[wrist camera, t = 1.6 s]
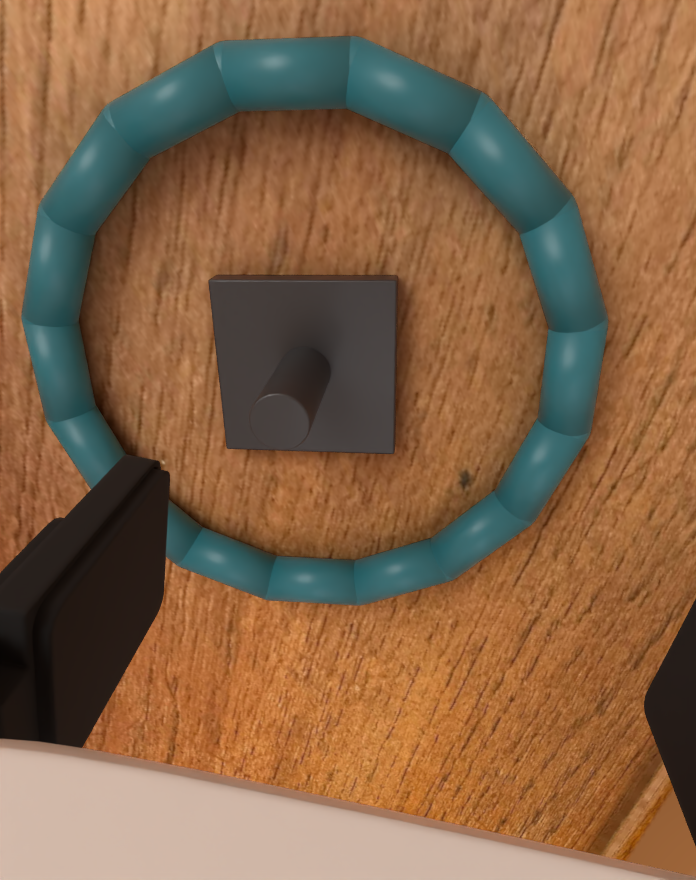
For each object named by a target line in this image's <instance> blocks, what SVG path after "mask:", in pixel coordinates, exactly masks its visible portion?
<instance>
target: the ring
mask: <svg viewBox="0 0 696 880" xmlns="http://www.w3.org/2000/svg"><path fill="white" fill-rule="evenodd" d="M320 109H348V110H351V111H353V112H355V113H358V114H360V115H362V116H364V117H367V118H369V119H371V120H373V121H376V122H378V123H380V124H382V125H385V126H387V127H389V128H391V129H394V130H396V131H398V132H401V133H403V134H405V135H407V136H410V137H412V138H414V139H416V140H419V141H421V142H423V143H425V144H428V145H430V146H432V147H435V148H437V149H439V150H441V151H444V152H446V153H448V154H449V155H450V156H451V158H452V159H453V160H454V161H455V162H456V163H457V164H458V165H459V166H460V168H461V169H462V170H463V171H464V172H465V173H466V174H467V175H468V177H469V178H470V179H471V180H472V181H473V182H474V183H475V184H476V186H477V187H478V188H479V189H480V190H481V191H482V192H483V193H484V195H485V196H486V197H487V198H488V199H489V200H490V201H491V202H492V204H493V205H494V206H495V207H496V208H497V209H498V210H499V211H500V213H501V214H502V215H503V216H504V217H505V218H506V219H507V220H508V222H509V223H510V224H511V225H512V226H513V227H514V228H515V229H516V231H517V232H518V233H519V235H520V238H521V241H522V245H523V248H524V251H525V254H526V257H527V260H528V264H529V267H530V270H531V273H532V276H533V280H534V283H535V286H536V289H537V292H538V296H539V299H540V302H541V305H542V308H543V312H544V315H545V318H546V321H547V324H548V337H547V345H546V353H545V362H544V370H543V379H542V387H541V395H540V404H539V412H538V418H537V420H536V421H535V423H534V425H533V426H532V428H531V430H530V432H529V433H528V435H527V437H526V438H525V440H524V442H523V443H522V445H521V447H520V449H519V450H518V452H517V454H516V455H515V457H514V459H513V460H512V462H511V464H510V466H509V467H508V469H507V471H506V472H505V474H504V476H503V477H502V479H501V481H500V483H499V484H498V486H497V488H496V489H495V490H494V491H493V492H491V493H490V494H489V495H487V496H486V497H485V498H483V499H482V500H481V501H479V502H478V503H477V504H476V505H474V506H473V507H472V508H470V509H469V510H468V511H466V512H465V513H464V514H462V515H461V516H460V517H458V518H457V519H456V520H454V521H453V522H452V523H450V524H449V525H448V526H447V527H445V528H444V529H443V530H441V531H440V532H439V533H437V534H436V535H435V536H433V537H432V538H429V539H426V540H422V541H419V542H415V543H412V544H409V545H405V546H402V547H398V548H395V549H392V550H388V551H385V552H382V553H378V554H375V555H371V556H368V557H365V558H361V559H358V560H347V559H327V558H307V557H286V556H276V555H273V554H271V553H268V552H266V551H263V550H260V549H258V548H255V547H253V546H250V545H248V544H245V543H242V542H240V541H237V540H235V539H232V538H229V537H227V536H224V535H222V534H219V533H217V532H214V531H211V530H209V529H206V528H204V527H202V526H201V525H199V524H198V523H197V522H196V521H195V520H193V519H192V518H191V517H190V516H189V515H187V514H186V513H185V512H184V511H182V510H181V509H180V508H179V507H178V506H176V505H175V504H174V503H173V502H171V501H170V500H169V505H168V524H167V543H166V557H167V558H168V559H170V560H171V561H172V562H173V563H175V564H176V565H177V566H179V567H181V568H184V569H187V570H189V571H192V572H194V573H197V574H200V575H202V576H205V577H207V578H210V579H213V580H215V581H218V582H221V583H223V584H226V585H228V586H231V587H234V588H236V589H239V590H242V591H244V592H247V593H249V594H252V595H255V596H257V597H260V598H263V599H265V600H271V601H288V602H306V603H323V604H341V605H366V604H369V603H373V602H377V601H380V600H384V599H387V598H391V597H395V596H398V595H402V594H406V593H409V592H413V591H417V590H420V589H424V588H428V587H431V586H435V585H439V584H442V583H446V582H449V581H452V580H454V579H456V578H457V577H459V576H460V575H462V574H463V573H464V572H466V571H467V570H469V569H470V568H471V567H473V566H474V565H476V564H477V563H478V562H480V561H481V560H483V559H484V558H486V557H487V556H488V555H490V554H491V553H493V552H494V551H495V550H497V549H498V548H500V547H501V546H502V545H504V544H505V543H507V542H508V541H509V540H511V539H512V538H514V537H515V536H516V535H518V534H519V533H521V532H522V531H523V530H525V529H526V528H528V527H529V526H530V525H532V524H533V523H534V521H535V520H536V519H537V517H538V516H539V514H540V513H541V511H542V510H543V508H544V506H545V505H546V503H547V502H548V500H549V499H550V497H551V496H552V494H553V492H554V491H555V489H556V488H557V486H558V485H559V483H560V481H561V480H562V478H563V477H564V475H565V474H566V472H567V471H568V469H569V467H570V466H571V464H572V463H573V461H574V460H575V458H576V456H577V455H578V453H579V452H580V450H581V449H582V447H583V445H584V444H585V442H586V441H587V439H588V437H589V436H590V433H591V429H592V423H593V417H594V411H595V405H596V398H597V392H598V386H599V380H600V373H601V367H602V361H603V355H604V348H605V342H606V336H607V330H608V315H607V311H606V308H605V304H604V300H603V297H602V293H601V289H600V286H599V282H598V278H597V275H596V271H595V268H594V264H593V260H592V257H591V253H590V249H589V246H588V242H587V238H586V235H585V231H584V228H583V224H582V220H581V217H580V213H579V209H578V206H577V203H576V200H575V198H574V197H573V195H572V193H571V192H570V191H569V190H568V189H567V188H566V186H565V185H564V184H563V183H562V182H561V181H560V179H559V178H558V177H557V176H556V175H555V173H554V172H553V171H552V170H551V169H550V168H549V166H548V165H547V164H546V163H545V162H544V160H543V159H542V158H541V157H540V156H539V155H538V153H537V152H536V151H535V150H534V149H533V148H532V146H531V145H530V144H529V143H528V142H527V140H526V139H525V138H524V137H523V136H522V135H521V133H520V132H519V131H518V130H517V129H516V127H515V126H514V125H513V124H512V123H511V122H510V120H509V119H508V118H507V117H506V116H505V114H504V113H503V112H502V111H501V110H500V109H499V107H498V106H497V105H496V104H495V103H494V102H493V100H492V99H491V98H490V97H489V96H488V95H486V94H485V93H483V92H481V91H480V90H477V89H475V88H473V87H471V86H469V85H466V84H464V83H462V82H460V81H457V80H455V79H453V78H451V77H449V76H446V75H444V74H442V73H440V72H437V71H435V70H433V69H431V68H429V67H426V66H424V65H422V64H420V63H417V62H415V61H413V60H411V59H409V58H406V57H404V56H402V55H400V54H398V53H395V52H393V51H391V50H389V49H386V48H384V47H382V46H380V45H378V44H375V43H373V42H371V41H369V40H366V39H364V38H361V37H357V36H338V37H310V38H282V39H255V40H227V41H220V42H218V43H215V44H213V45H212V46H210V47H208V48H206V49H204V50H203V51H201V52H199V53H197V54H195V55H194V56H192V57H190V58H188V59H186V60H185V61H183V62H181V63H179V64H178V65H176V66H174V67H172V68H170V69H169V70H167V71H165V72H163V73H161V74H160V75H158V76H156V77H154V78H153V79H151V80H149V81H147V82H145V83H144V84H142V85H140V86H138V87H136V88H135V89H133V90H131V91H129V92H127V93H126V94H124V95H122V96H120V97H119V98H117V99H115V100H113V101H111V102H110V103H109V104H107V105H106V106H105V108H104V109H103V110H102V111H101V113H100V114H99V116H98V117H97V119H96V120H95V122H94V123H93V125H92V126H91V128H90V129H89V131H88V132H87V134H86V135H85V137H84V138H83V140H82V141H81V143H80V144H79V146H78V147H77V149H76V150H75V152H74V153H73V155H72V156H71V158H70V159H69V161H68V162H67V163H66V165H65V166H64V168H63V169H62V171H61V172H60V174H59V175H58V177H57V178H56V180H55V181H54V183H53V184H52V186H51V187H50V189H49V190H48V192H47V193H46V195H45V196H44V198H43V199H42V201H41V203H40V204H39V208H38V212H37V218H36V225H35V231H34V237H33V244H32V250H31V257H30V263H29V269H28V276H27V282H26V289H25V295H24V301H23V308H22V323H23V327H24V331H25V335H26V340H27V344H28V348H29V352H30V356H31V360H32V365H33V369H34V373H35V377H36V381H37V385H38V390H39V394H40V398H41V402H42V406H43V411H44V415H45V418H46V421H47V423H48V425H49V426H50V428H51V429H52V431H53V432H54V434H55V435H56V437H57V438H58V440H59V442H60V443H61V445H62V446H63V448H64V449H65V451H66V452H67V454H68V455H69V457H70V458H71V460H72V461H73V463H74V464H75V466H76V467H77V469H78V470H79V472H80V473H81V475H82V476H83V478H84V479H85V481H86V483H87V484H88V486H89V487H90V489H92V488H93V487H94V486H95V485H96V484H97V483H98V482H99V481H100V480H101V479H102V478H103V477H104V476H105V475H106V474H107V473H108V472H109V470H110V469H111V468H112V467H113V466H114V465H115V464H116V463H117V462H118V461H119V460H120V459H121V458H122V457H123V456H124V455H127V454H126V453H125V451H124V450H123V448H122V446H121V445H120V443H119V442H118V440H117V438H116V437H115V435H114V433H113V432H112V430H111V429H110V427H109V425H108V424H107V422H106V421H105V419H104V417H103V416H102V414H101V412H100V411H99V409H98V408H97V406H96V404H95V400H94V395H93V390H92V385H91V380H90V375H89V370H88V365H87V360H86V355H85V350H84V345H83V340H82V335H81V330H80V325H79V315H80V310H81V305H82V300H83V295H84V290H85V285H86V280H87V275H88V270H89V265H90V260H91V255H92V250H93V245H94V240H95V235H96V232H97V231H98V230H99V228H100V227H101V225H102V224H103V223H104V221H105V220H106V219H107V217H108V216H109V215H110V213H111V212H112V210H113V209H114V208H115V206H116V205H117V204H118V202H119V201H120V200H121V198H122V197H123V195H124V194H125V193H126V191H127V190H128V189H129V187H130V186H131V185H132V183H133V182H134V180H135V179H136V178H137V176H138V175H139V174H140V172H141V171H142V170H143V168H144V167H145V165H146V164H147V163H148V161H149V160H150V159H151V158H152V157H153V156H155V155H157V154H159V153H161V152H163V151H165V150H167V149H169V148H171V147H173V146H175V145H177V144H178V143H180V142H182V141H184V140H186V139H188V138H190V137H192V136H194V135H196V134H198V133H200V132H201V131H203V130H205V129H207V128H209V127H211V126H213V125H215V124H217V123H219V122H221V121H223V120H225V119H226V118H228V117H230V116H232V115H234V114H236V113H238V112H240V111H279V110H320Z"/></svg>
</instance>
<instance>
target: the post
mask: <svg viewBox="0 0 696 880" xmlns="http://www.w3.org/2000/svg"><path fill="white" fill-rule="evenodd" d="M209 290H210V299H211V309H212V318H213V327H214V336H215V345H216V354H217V363H218V373H219V382H220V391H221V400H222V409H223V418H224V427H225V437H226V446H227V448H228V449H251V450H282V451H314V452H345V453H377V454H394V452H395V434H396V371H397V308H398V277H397V276H396V275H216V276H214V277H213V278H211V279H210V280H209Z"/></svg>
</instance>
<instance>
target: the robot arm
mask: <svg viewBox="0 0 696 880" xmlns="http://www.w3.org/2000/svg"><path fill="white" fill-rule="evenodd" d="M169 486H170V475H169V472H168V471H164V470H161V466H160V463H159V461H156V460H151V459H146V458H142V457H137V456H132V455H124V456H123V457H122V458H121V459H120V460H119V461H118V462H117V463H116V464H115V465H114V466H113V467H112V468H111V469H110V470H109V472H108V473H107V474H106V475H105V476H104V477H103V478H102V479H101V480H100V481H99V482H98V483H97V484H96V485H95V486H94V487H93V488H92V489H91V490H90V492H89V493H88V494H87V495H86V496H85V497H84V498H83V499H82V500H81V501H80V502H79V503H78V504H77V505H76V506H75V507H74V508H73V509H72V510H71V511H70V513H69V514H68V515H67V516H66V517H65V518H56V519H54V520H53V521H51V522H50V523H49V524H48V525H47V526H46V527H45V528H44V529H43V530H42V531H41V532H40V533H39V534H38V535H37V536H36V537H35V538H34V539H33V540H32V541H31V542H30V543H29V544H28V545H27V546H26V547H25V548H24V549H23V550H22V551H21V552H20V553H19V554H18V555H17V556H16V557H15V558H14V559H13V560H12V561H11V562H10V563H9V564H8V565H7V566H6V567H5V569H4V570H3V571H2V572H1V573H0V880H696V877H695V876H690V875H685V874H681V873H677V872H672V871H667V870H663V869H659V868H654V867H650V866H645V865H640V864H636V863H632V862H627V861H623V860H618V859H614V858H609V857H605V856H600V855H596V854H591V853H587V852H582V851H577V850H573V849H568V848H564V847H559V846H554V845H550V844H545V843H540V842H536V841H531V840H527V839H522V838H517V837H513V836H508V835H504V834H499V833H494V832H490V831H485V830H481V829H476V828H471V827H467V826H462V825H457V824H453V823H448V822H443V821H439V820H434V819H429V818H425V817H420V816H415V815H411V814H406V813H401V812H397V811H392V810H387V809H383V808H378V807H374V806H369V805H364V804H359V803H354V802H350V801H345V800H340V799H335V798H331V797H326V796H321V795H316V794H312V793H307V792H302V791H297V790H293V789H288V788H283V787H278V786H273V785H269V784H264V783H259V782H254V781H250V780H245V779H240V778H235V777H231V776H226V775H221V774H216V773H212V772H207V771H202V770H197V769H191V768H186V767H181V766H176V765H171V764H165V763H160V762H155V761H150V760H145V759H139V758H134V757H129V756H124V755H119V754H113V753H108V752H103V751H98V750H92V749H85V748H82V747H83V745H84V743H85V741H86V740H87V738H88V736H89V734H90V733H91V731H92V729H93V727H94V725H95V724H96V722H97V720H98V718H99V717H100V715H101V713H102V711H103V709H104V708H105V706H106V704H107V702H108V701H109V699H110V697H111V695H112V693H113V692H114V690H115V688H116V686H117V685H118V683H119V681H120V679H121V678H122V676H123V674H124V672H125V670H126V669H127V667H128V665H129V663H130V662H131V660H132V658H133V656H134V654H135V653H136V651H137V649H138V647H139V646H140V644H141V642H142V640H143V638H144V637H145V635H146V633H147V631H148V630H149V628H150V626H151V624H152V622H153V621H154V619H155V617H156V615H157V613H158V611H159V609H160V606H161V603H162V600H163V595H164V580H165V561H166V543H167V524H168V505H169ZM644 710H645V715H646V718H647V721H648V723H649V726H650V729H651V731H652V734H653V736H654V739H655V742H656V744H657V747H658V749H659V752H660V755H661V757H662V760H663V762H664V765H665V768H666V770H667V773H668V775H669V778H670V781H671V783H672V786H673V788H674V791H675V794H676V796H677V799H678V801H679V804H680V807H681V809H682V812H683V814H684V817H685V819H686V822H687V825H688V827H689V830H690V833H691V835H692V838H693V840H694V843H695V845H696V599H695V601H694V603H693V605H692V607H691V609H690V611H689V613H688V615H687V617H686V619H685V620H684V622H683V624H682V626H681V628H680V630H679V632H678V634H677V636H676V638H675V640H674V641H673V643H672V645H671V647H670V649H669V651H668V653H667V655H666V657H665V659H664V660H663V662H662V664H661V666H660V668H659V670H658V672H657V674H656V676H655V678H654V680H653V681H652V683H651V685H650V687H649V689H648V691H647V693H646V696H645V701H644Z"/></svg>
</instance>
